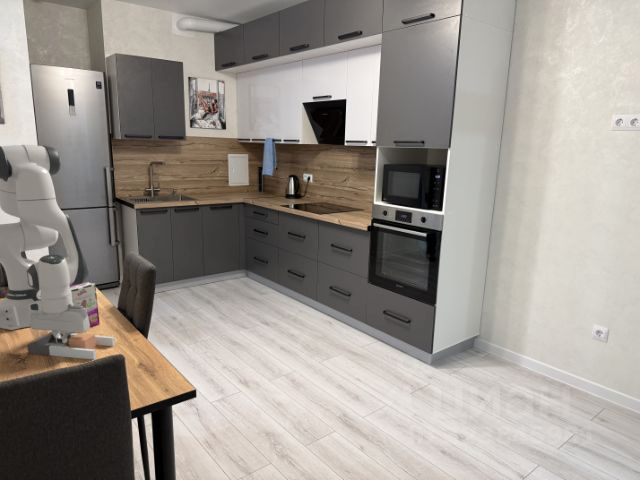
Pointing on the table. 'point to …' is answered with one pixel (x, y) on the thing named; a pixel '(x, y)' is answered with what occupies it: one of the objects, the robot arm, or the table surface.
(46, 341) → the bin
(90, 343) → the block
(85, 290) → the candy bar box
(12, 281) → the robot arm
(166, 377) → the table surface
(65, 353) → the channel
